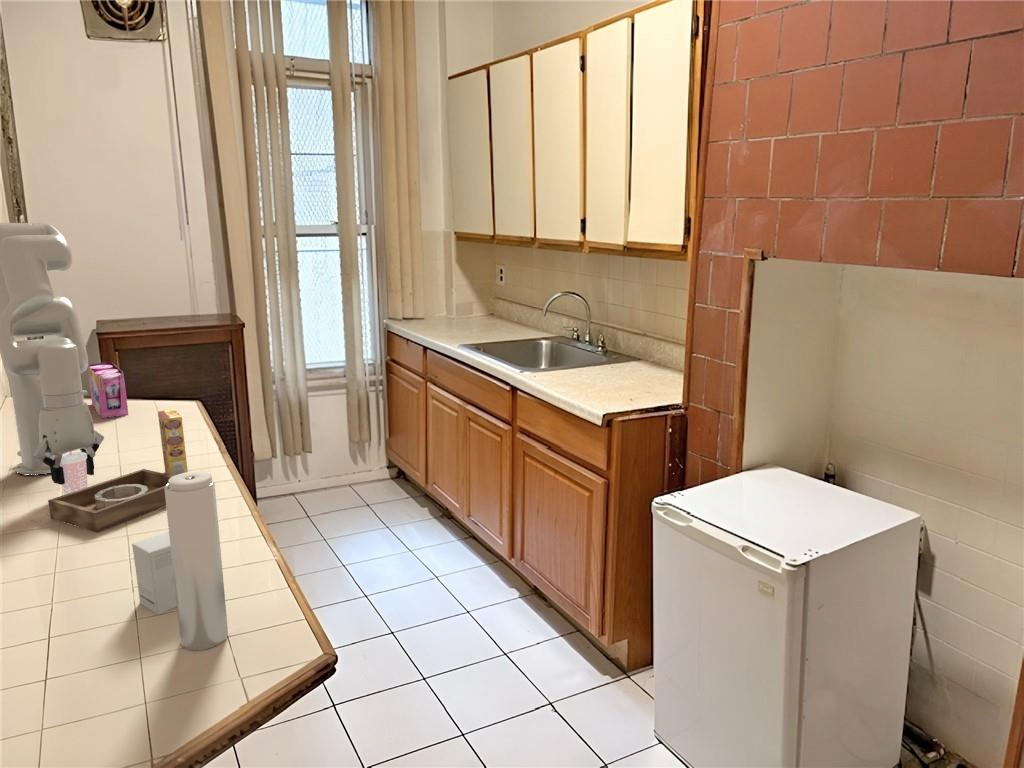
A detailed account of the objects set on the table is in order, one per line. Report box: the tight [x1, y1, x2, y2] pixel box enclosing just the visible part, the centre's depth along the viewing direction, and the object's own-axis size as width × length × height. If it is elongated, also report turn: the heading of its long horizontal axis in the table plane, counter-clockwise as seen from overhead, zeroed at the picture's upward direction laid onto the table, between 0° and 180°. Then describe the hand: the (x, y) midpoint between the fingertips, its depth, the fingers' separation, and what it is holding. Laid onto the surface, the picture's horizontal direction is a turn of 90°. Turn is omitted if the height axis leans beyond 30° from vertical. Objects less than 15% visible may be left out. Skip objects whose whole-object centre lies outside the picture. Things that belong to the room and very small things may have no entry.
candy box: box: [157, 408, 189, 476], centre depth 178 cm, size 9×4×15 cm, turn 33°
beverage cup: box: [60, 451, 89, 495], centre depth 165 cm, size 6×6×14 cm
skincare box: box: [131, 531, 177, 615], centre depth 121 cm, size 10×6×10 cm, turn 141°
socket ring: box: [94, 484, 148, 510], centre depth 159 cm, size 10×10×2 cm
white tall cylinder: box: [164, 471, 229, 651], centre depth 107 cm, size 6×6×25 cm
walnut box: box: [47, 468, 173, 533], centre depth 159 cm, size 15×22×4 cm
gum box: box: [86, 361, 129, 419], centre depth 239 cm, size 24×8×14 cm, turn 35°
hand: (74, 477), depth 166 cm, fingers closed on beverage cup, 6 cm apart
